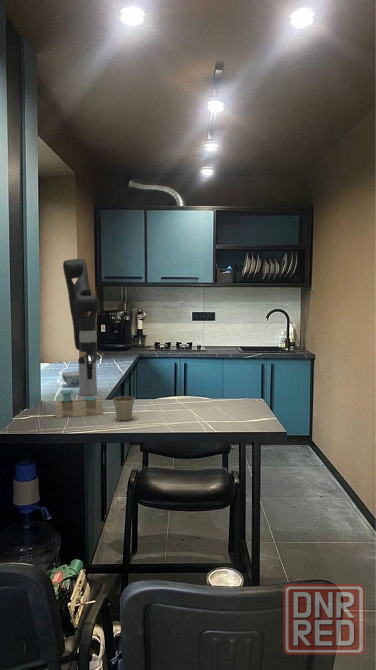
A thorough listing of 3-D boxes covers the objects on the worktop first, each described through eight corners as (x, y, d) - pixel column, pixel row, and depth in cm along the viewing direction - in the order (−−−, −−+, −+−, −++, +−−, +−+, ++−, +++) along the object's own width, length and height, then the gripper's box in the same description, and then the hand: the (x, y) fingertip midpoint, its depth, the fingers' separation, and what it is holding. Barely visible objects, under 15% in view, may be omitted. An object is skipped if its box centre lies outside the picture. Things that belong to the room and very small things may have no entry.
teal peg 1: (61, 405, 201) (60, 390, 201) (73, 404, 203) (72, 389, 202) (61, 407, 196) (60, 392, 196) (73, 406, 198) (72, 391, 197)
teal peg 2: (84, 411, 204) (83, 397, 204) (96, 410, 206) (95, 396, 205) (85, 414, 199) (84, 399, 199) (96, 413, 201) (96, 398, 200)
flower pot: (140, 417, 193) (139, 398, 192) (125, 423, 185) (124, 402, 184) (123, 415, 198) (123, 395, 197) (108, 420, 190) (107, 399, 190)
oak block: (56, 414, 202) (55, 401, 201) (101, 410, 207) (100, 397, 207) (56, 418, 195) (55, 404, 195) (102, 413, 201) (102, 400, 200)
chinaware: (91, 383, 277) (90, 371, 276) (83, 388, 262) (82, 375, 261) (67, 383, 278) (66, 371, 278) (58, 388, 263) (57, 375, 263)
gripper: (78, 339, 205) (80, 377, 207) (80, 342, 193) (82, 382, 194) (95, 338, 207) (96, 376, 209) (98, 341, 195) (99, 381, 196)
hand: (89, 379), depth 202 cm, fingers closed
